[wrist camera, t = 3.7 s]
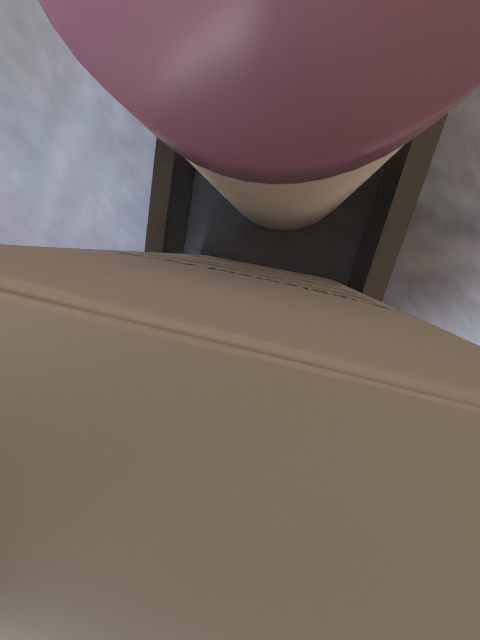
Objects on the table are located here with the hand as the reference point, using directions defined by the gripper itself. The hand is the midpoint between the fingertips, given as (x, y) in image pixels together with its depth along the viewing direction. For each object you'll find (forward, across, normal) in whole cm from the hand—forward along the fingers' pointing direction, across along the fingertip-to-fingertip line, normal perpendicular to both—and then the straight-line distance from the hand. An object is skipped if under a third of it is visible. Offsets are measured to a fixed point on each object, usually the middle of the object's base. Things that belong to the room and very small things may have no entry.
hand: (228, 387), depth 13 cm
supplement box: (+6, 0, +1) cm, 6 cm away
